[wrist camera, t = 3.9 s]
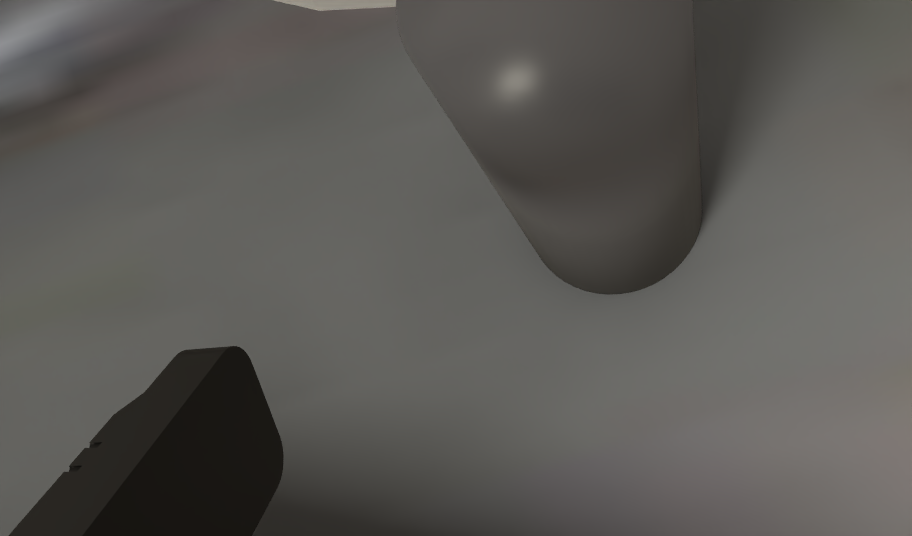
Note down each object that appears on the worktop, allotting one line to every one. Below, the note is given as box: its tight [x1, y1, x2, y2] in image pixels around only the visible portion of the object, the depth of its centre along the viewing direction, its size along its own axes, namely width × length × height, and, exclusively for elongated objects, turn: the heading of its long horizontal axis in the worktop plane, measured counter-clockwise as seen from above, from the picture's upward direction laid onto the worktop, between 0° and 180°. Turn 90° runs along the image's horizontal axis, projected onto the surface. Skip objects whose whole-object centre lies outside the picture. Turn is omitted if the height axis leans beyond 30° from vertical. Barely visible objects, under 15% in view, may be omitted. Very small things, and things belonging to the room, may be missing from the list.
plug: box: [396, 0, 702, 294], centre depth 17 cm, size 4×4×10 cm
